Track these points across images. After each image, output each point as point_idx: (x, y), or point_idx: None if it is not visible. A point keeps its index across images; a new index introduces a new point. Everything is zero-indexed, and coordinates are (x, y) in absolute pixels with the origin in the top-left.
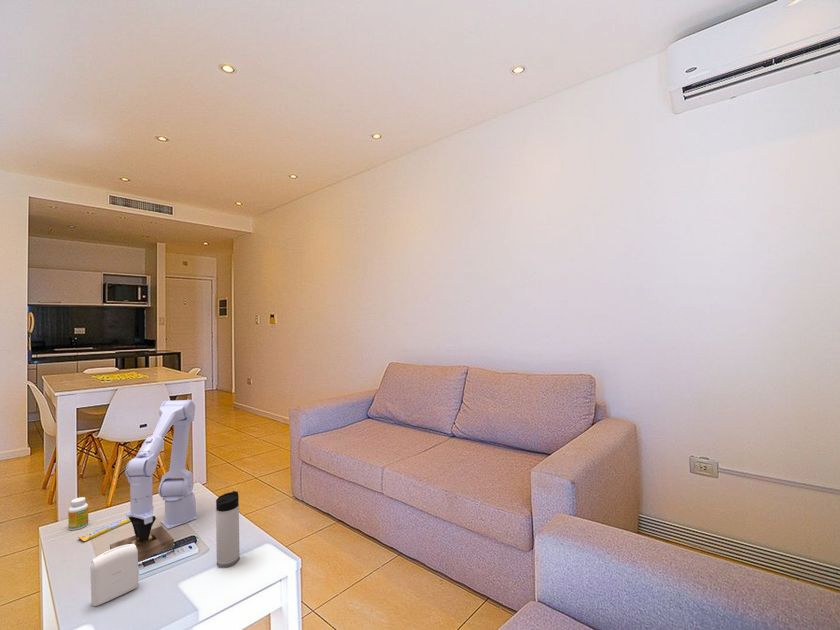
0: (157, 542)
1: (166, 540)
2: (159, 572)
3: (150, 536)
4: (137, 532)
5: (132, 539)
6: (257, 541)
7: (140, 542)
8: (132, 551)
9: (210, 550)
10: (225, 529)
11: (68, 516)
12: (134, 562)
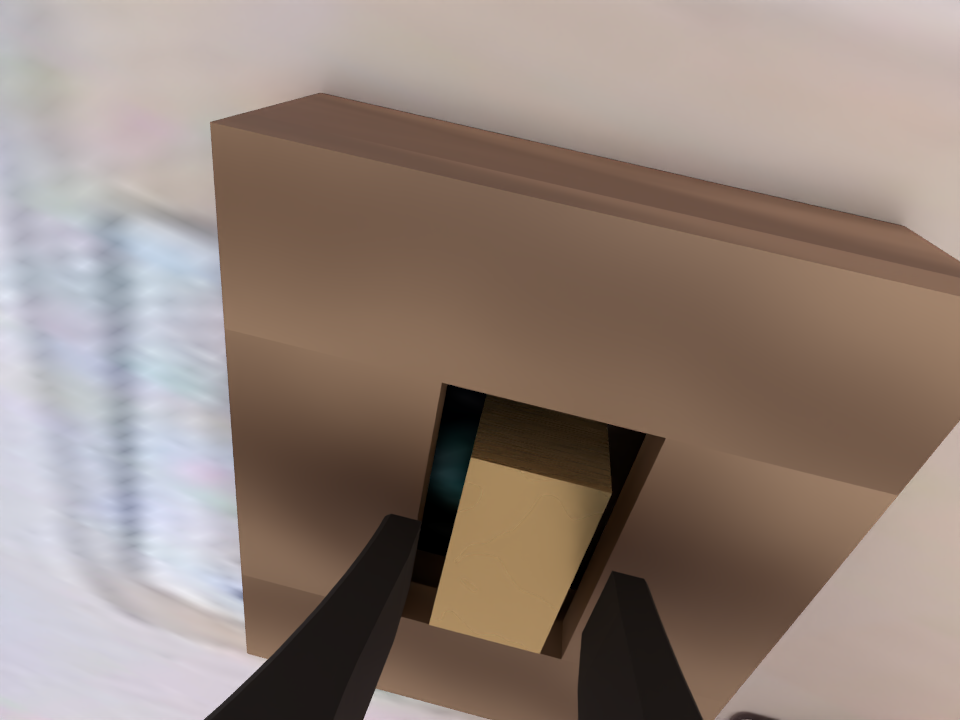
0: (301, 576)
1: (268, 619)
2: (25, 317)
3: (480, 631)
4: (613, 663)
5: (729, 535)
6: (22, 709)
7: (391, 516)
8: None
9: (104, 608)
10: None
11: None
12: None
